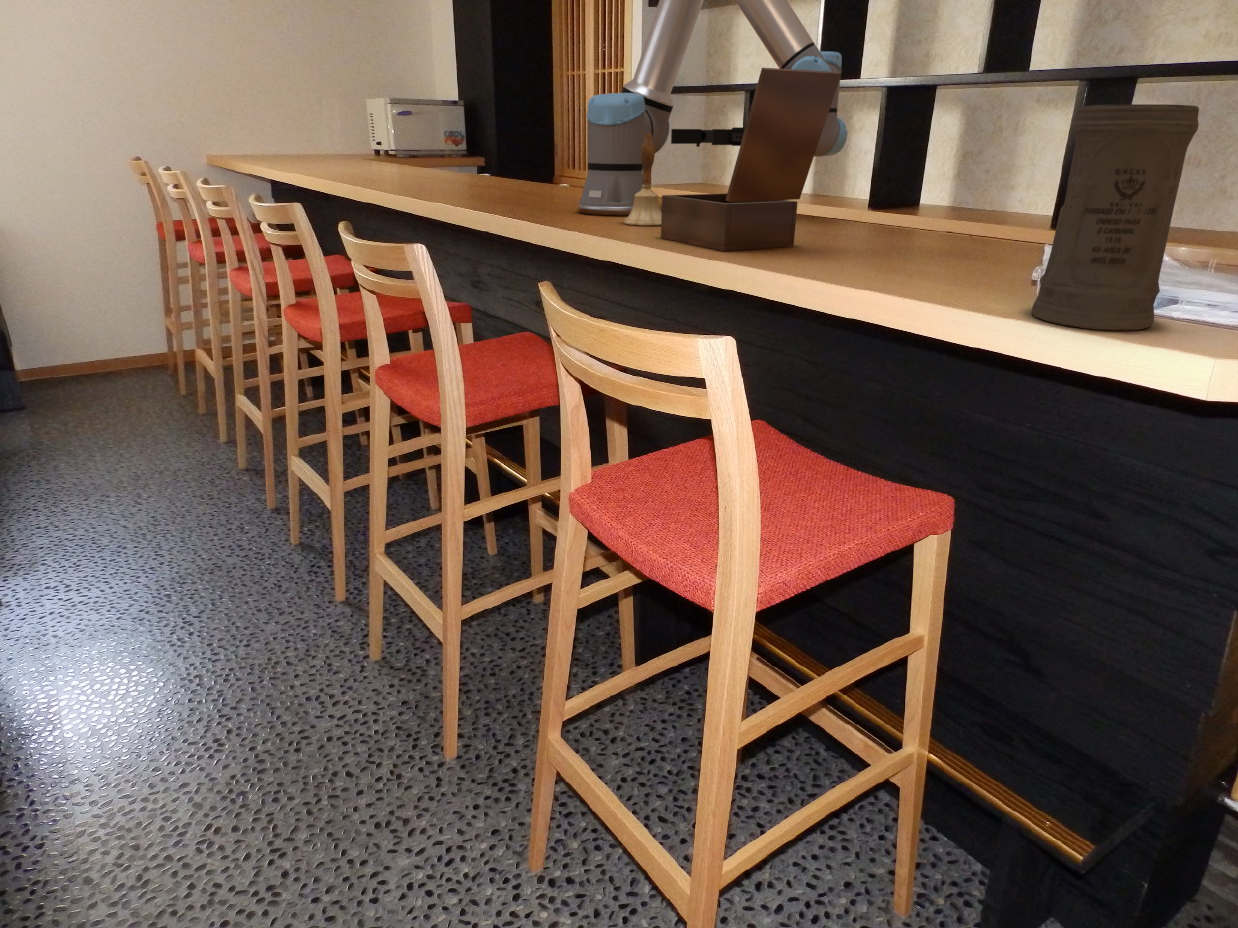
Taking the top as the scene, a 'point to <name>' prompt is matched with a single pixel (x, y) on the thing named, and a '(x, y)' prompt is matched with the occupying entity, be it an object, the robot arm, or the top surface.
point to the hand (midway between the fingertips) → (691, 136)
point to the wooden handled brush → (646, 191)
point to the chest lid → (782, 134)
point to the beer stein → (1116, 216)
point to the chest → (728, 222)
